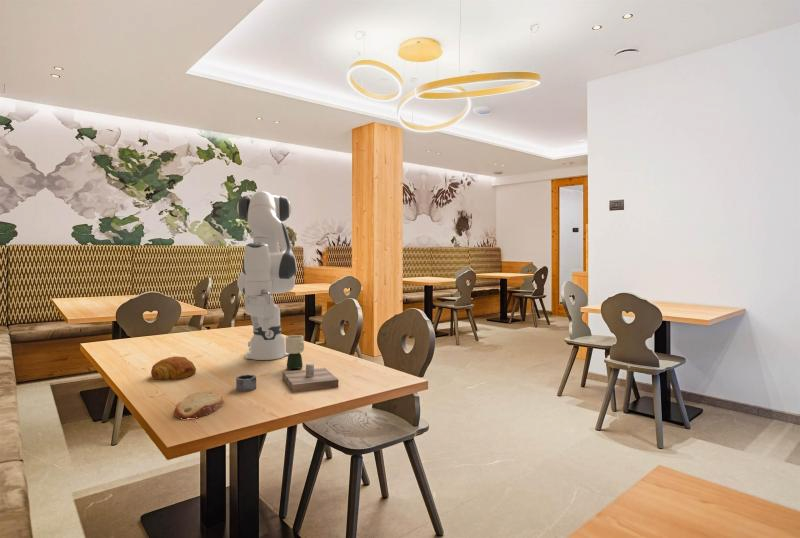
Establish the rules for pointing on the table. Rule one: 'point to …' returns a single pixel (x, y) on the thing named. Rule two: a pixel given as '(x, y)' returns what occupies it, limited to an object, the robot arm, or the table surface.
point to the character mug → (294, 351)
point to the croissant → (173, 368)
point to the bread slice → (198, 404)
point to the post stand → (310, 379)
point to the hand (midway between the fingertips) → (260, 329)
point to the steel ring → (245, 383)
